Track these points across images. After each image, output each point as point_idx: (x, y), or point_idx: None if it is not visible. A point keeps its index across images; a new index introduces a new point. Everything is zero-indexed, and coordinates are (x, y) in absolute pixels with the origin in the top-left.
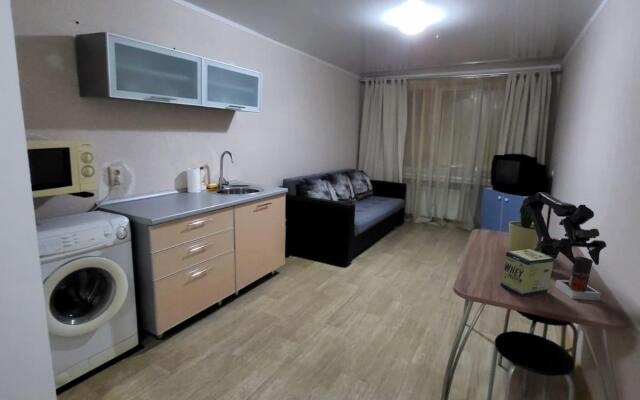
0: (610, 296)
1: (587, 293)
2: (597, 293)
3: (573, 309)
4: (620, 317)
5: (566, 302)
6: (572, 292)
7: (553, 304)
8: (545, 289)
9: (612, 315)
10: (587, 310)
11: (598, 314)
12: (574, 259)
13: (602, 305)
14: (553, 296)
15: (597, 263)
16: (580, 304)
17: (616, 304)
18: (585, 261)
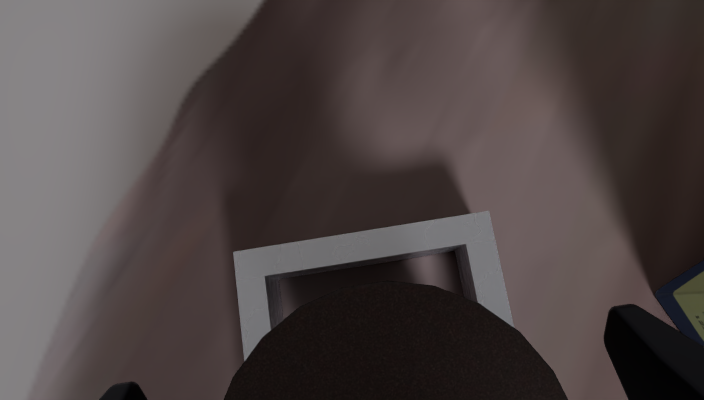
0: (96, 375)
1: (357, 233)
2: (264, 247)
3: (545, 35)
4: (258, 17)
5: (552, 136)
6: (488, 226)
7: (672, 70)
8: (700, 273)
9: (298, 29)
10: (444, 51)
11: (393, 14)
12: (674, 349)
13: (278, 169)
14: (623, 219)
15: (130, 395)
16: (451, 134)
17: (149, 221)
18: (430, 307)
